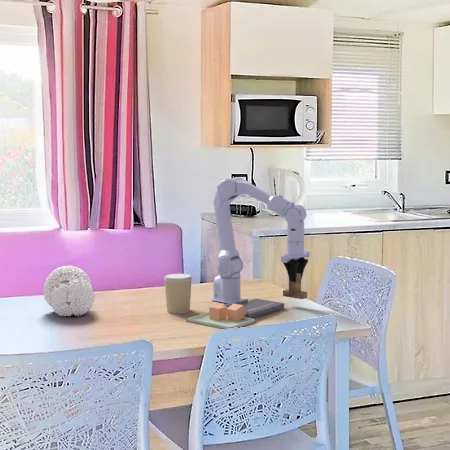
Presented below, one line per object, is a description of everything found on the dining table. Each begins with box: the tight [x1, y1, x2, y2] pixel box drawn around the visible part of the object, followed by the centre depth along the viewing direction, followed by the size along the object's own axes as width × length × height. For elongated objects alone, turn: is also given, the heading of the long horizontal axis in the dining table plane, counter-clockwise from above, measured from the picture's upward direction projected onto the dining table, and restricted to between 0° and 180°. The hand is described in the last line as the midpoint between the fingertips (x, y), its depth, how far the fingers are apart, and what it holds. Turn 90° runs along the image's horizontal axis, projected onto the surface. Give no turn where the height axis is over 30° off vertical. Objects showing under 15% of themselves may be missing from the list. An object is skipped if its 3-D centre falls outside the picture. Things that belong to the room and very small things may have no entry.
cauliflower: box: [42, 265, 95, 317], centre depth 251 cm, size 20×18×16 cm
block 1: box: [208, 304, 227, 321], centre depth 242 cm, size 4×4×4 cm
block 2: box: [226, 304, 245, 322], centre depth 240 cm, size 4×4×4 cm
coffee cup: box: [163, 273, 193, 314], centre depth 254 cm, size 9×9×12 cm
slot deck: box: [221, 298, 285, 320], centre depth 252 cm, size 12×20×3 cm, turn 141°
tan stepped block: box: [282, 273, 308, 300], centre depth 257 cm, size 8×3×8 cm, turn 51°
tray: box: [186, 311, 256, 330], centre depth 239 cm, size 18×13×1 cm
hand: (295, 280), depth 257 cm, fingers closed on tan stepped block, 3 cm apart
